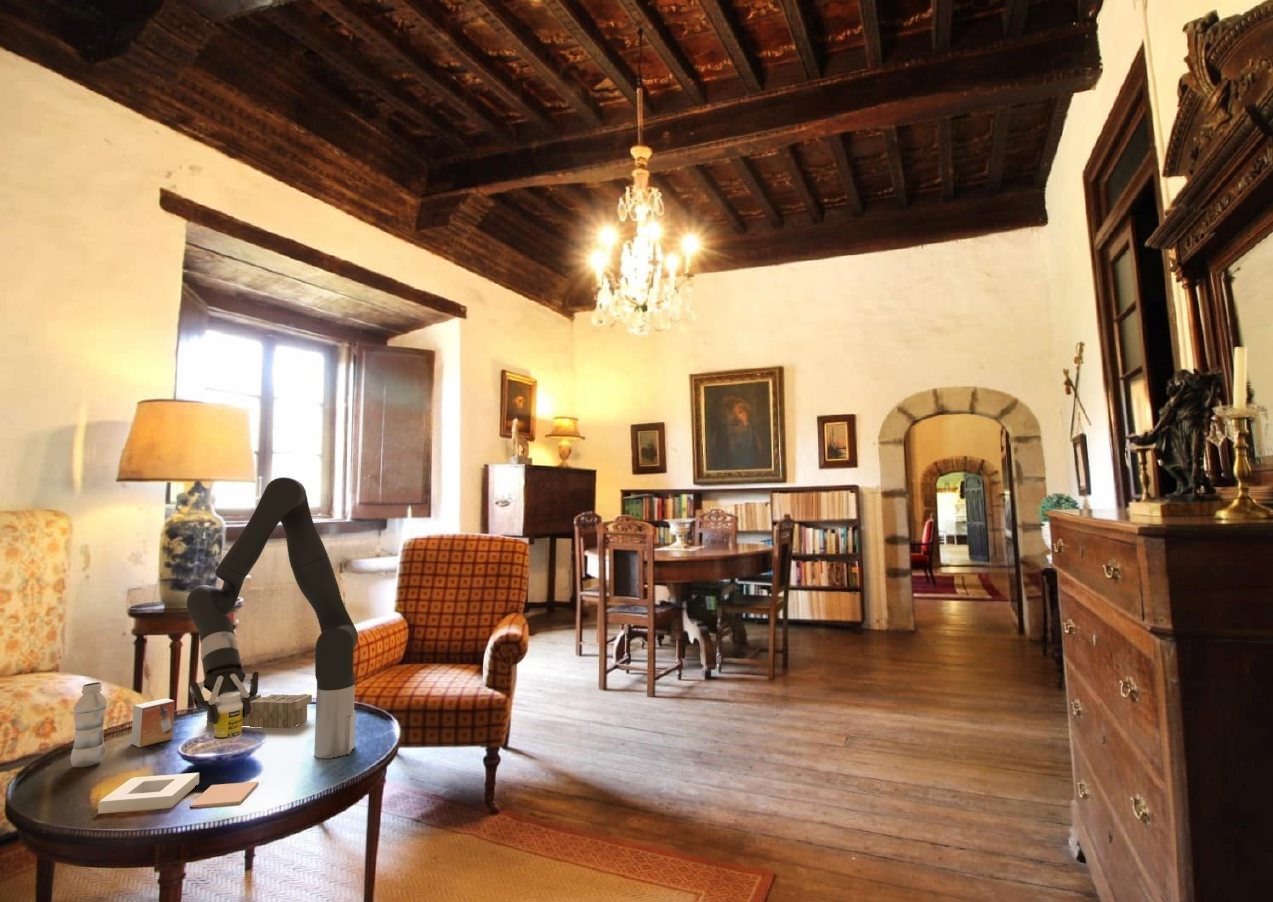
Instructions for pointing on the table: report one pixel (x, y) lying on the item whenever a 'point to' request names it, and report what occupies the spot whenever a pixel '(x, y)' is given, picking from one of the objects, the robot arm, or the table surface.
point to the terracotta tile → (224, 794)
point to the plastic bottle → (89, 726)
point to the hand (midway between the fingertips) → (231, 718)
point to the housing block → (149, 793)
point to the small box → (152, 722)
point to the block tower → (275, 711)
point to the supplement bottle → (229, 717)
